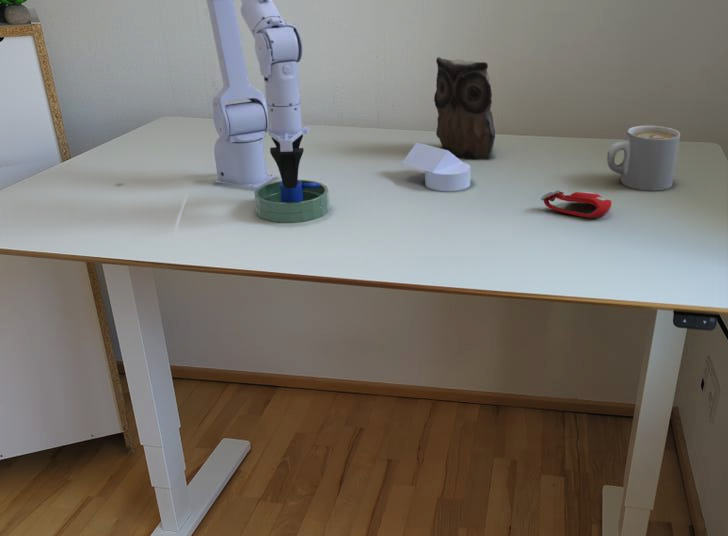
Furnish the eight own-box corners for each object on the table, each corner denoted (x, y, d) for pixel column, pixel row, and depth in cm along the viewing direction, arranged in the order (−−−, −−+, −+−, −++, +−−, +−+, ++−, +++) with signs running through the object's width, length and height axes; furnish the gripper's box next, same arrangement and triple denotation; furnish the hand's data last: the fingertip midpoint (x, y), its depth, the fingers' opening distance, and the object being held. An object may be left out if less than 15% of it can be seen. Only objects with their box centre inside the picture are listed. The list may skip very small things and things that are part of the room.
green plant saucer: (242, 219, 143) (240, 198, 141) (280, 196, 153) (278, 176, 151) (307, 229, 138) (305, 207, 136) (341, 205, 149) (340, 184, 147)
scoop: (281, 214, 143) (279, 187, 141) (282, 206, 147) (279, 179, 144) (321, 211, 144) (319, 185, 142) (320, 204, 148) (319, 178, 145)
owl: (495, 160, 172) (499, 63, 162) (437, 162, 171) (438, 64, 161) (487, 144, 183) (490, 52, 172) (432, 145, 182) (432, 53, 172)
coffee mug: (667, 175, 163) (675, 126, 157) (676, 191, 154) (684, 139, 149) (601, 173, 164) (607, 124, 159) (605, 189, 155) (612, 138, 150)
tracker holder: (590, 192, 150) (625, 195, 142) (587, 216, 151) (621, 220, 143) (537, 186, 145) (570, 189, 136) (534, 211, 146) (566, 215, 137)
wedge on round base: (401, 180, 161) (449, 194, 153) (401, 147, 158) (450, 160, 150) (431, 169, 167) (479, 183, 159) (431, 137, 163) (480, 149, 156)
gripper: (307, 112, 130) (313, 192, 137) (306, 92, 142) (311, 167, 149) (264, 114, 129) (272, 194, 136) (266, 94, 141) (274, 169, 148)
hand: (290, 180), depth 143 cm, fingers open, 7 cm apart
